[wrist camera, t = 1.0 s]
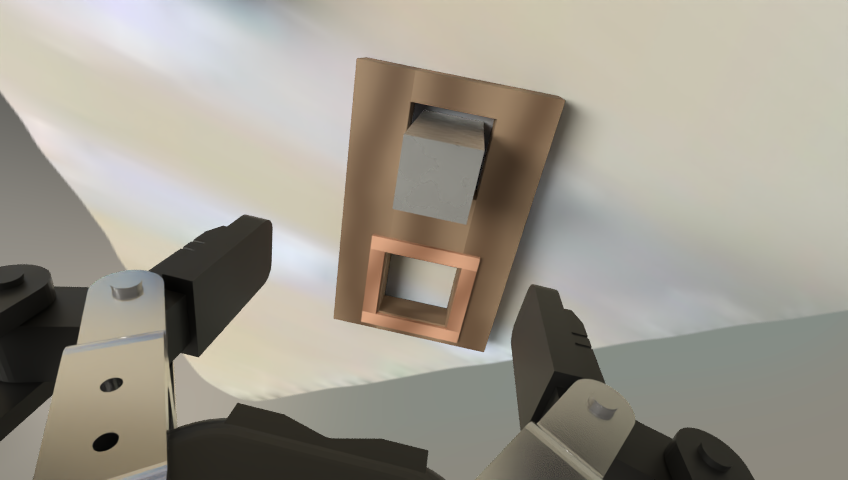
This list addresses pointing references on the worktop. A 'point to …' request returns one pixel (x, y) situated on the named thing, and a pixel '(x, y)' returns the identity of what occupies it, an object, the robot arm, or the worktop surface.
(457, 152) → the steel peg
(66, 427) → the robot arm
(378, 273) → the socket board
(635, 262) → the worktop surface
